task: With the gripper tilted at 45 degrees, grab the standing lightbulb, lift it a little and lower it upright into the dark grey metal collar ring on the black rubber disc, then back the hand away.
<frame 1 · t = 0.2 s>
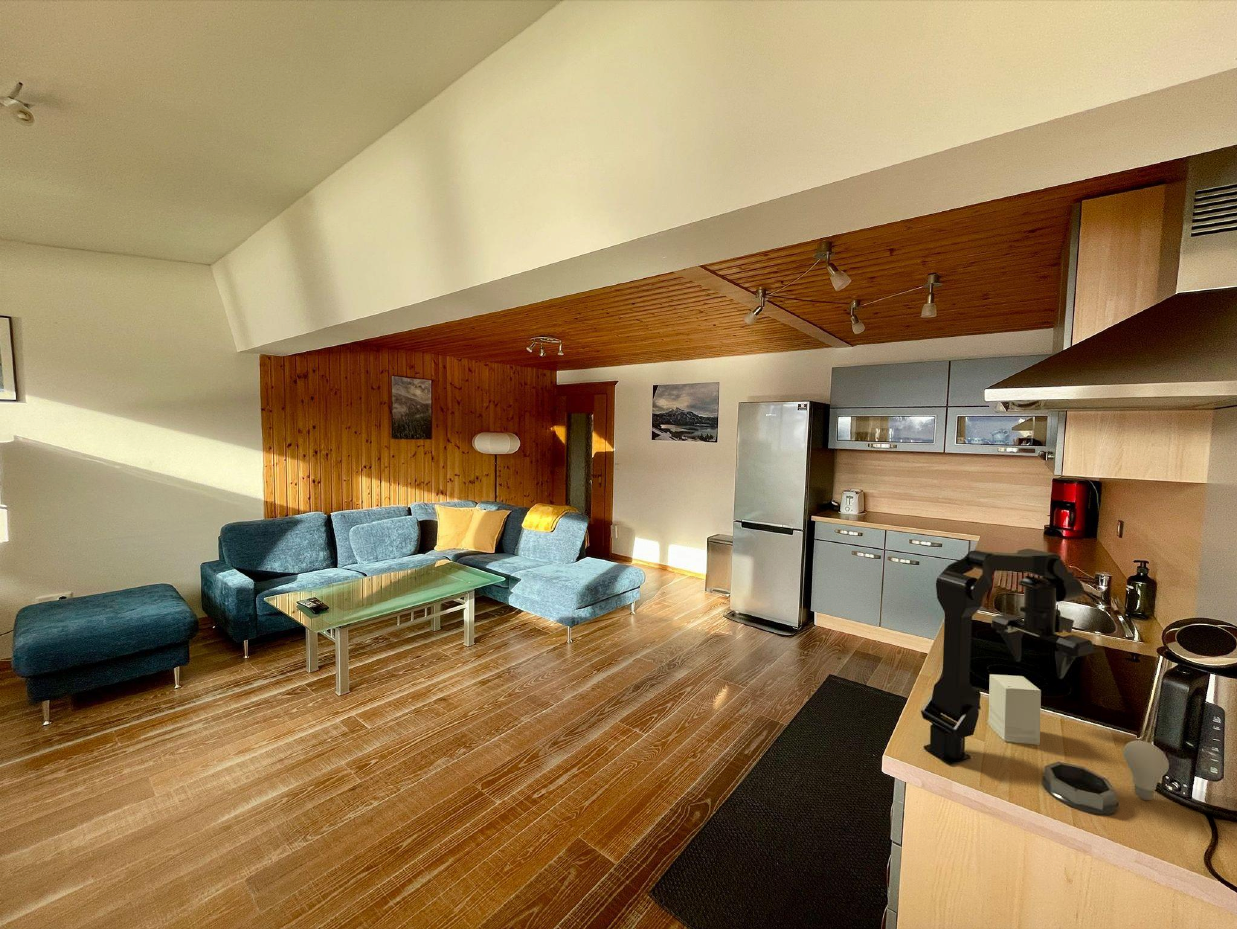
hand: (1038, 669, 120), 15 cm above the counter, tool pointing down, fingers open, 9 cm apart
collar: (1078, 794, 99), on the counter
lightbulb: (1143, 799, 98), on the counter
supplement box: (1013, 735, 119), on the counter
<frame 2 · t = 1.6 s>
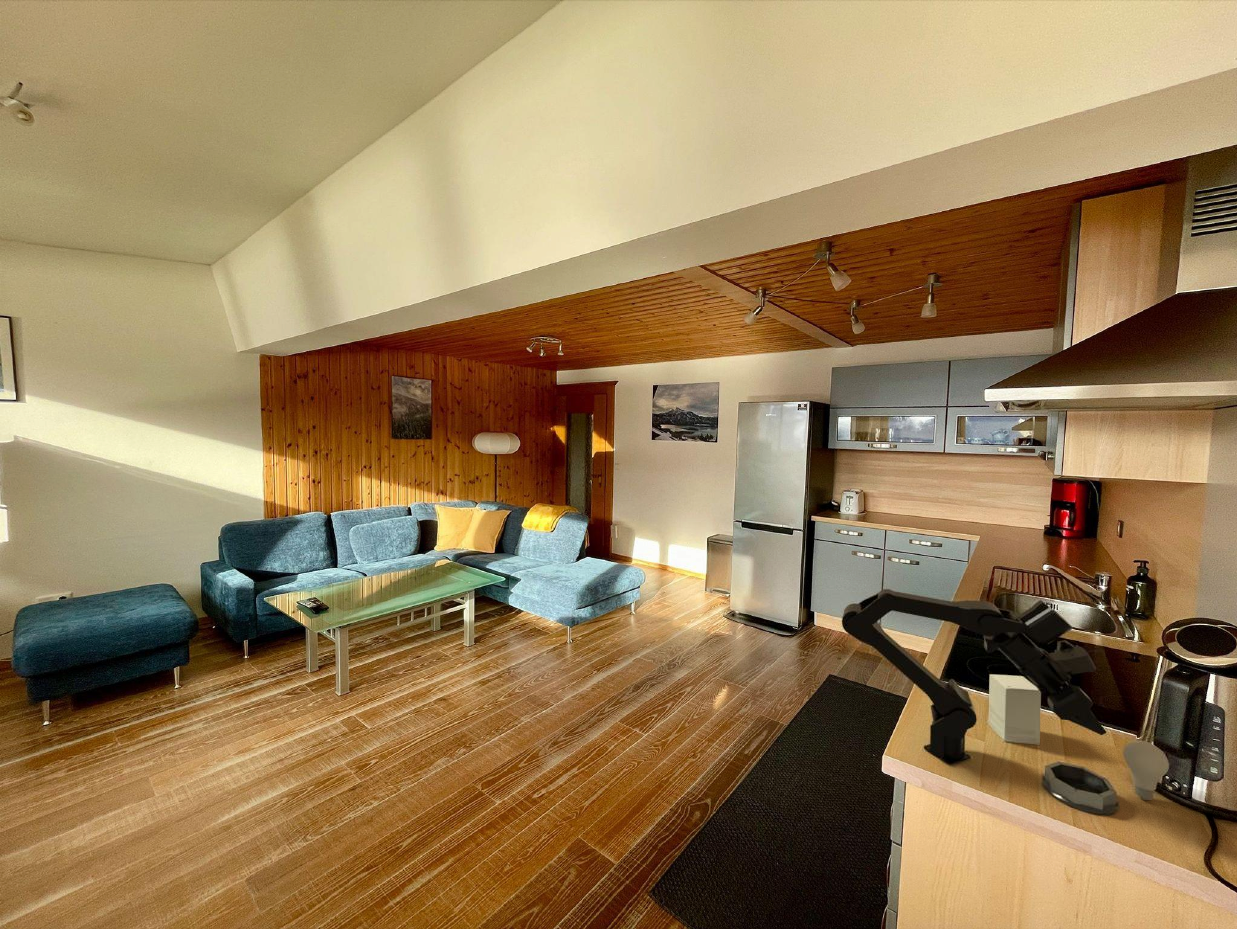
hand: (1094, 721, 101), 13 cm above the counter, tool tilted 45°, fingers open, 9 cm apart
nothing on the counter moved.
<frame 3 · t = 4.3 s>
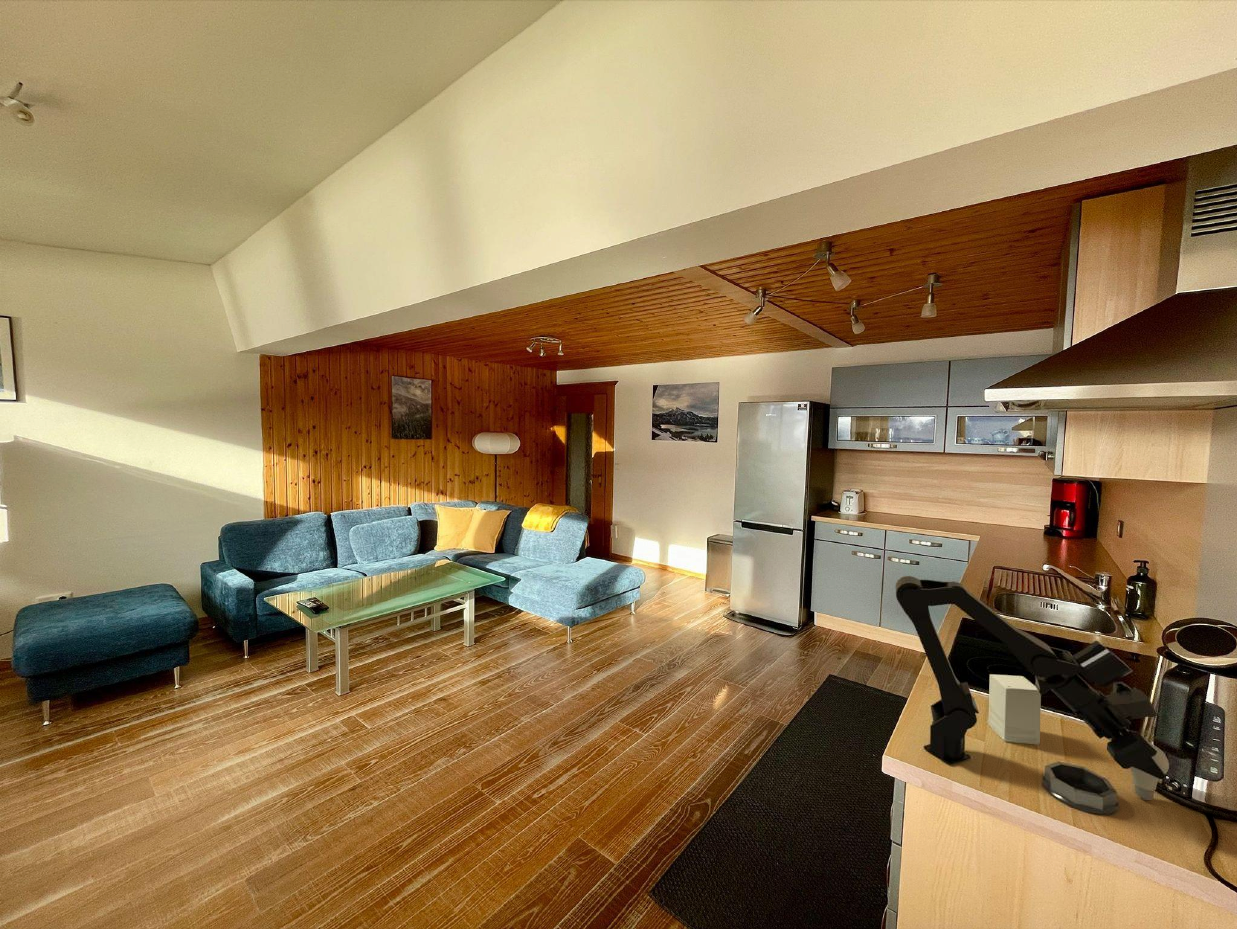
hand: (1155, 767, 97), 7 cm above the counter, tool tilted 45°, fingers closed on lightbulb, 6 cm apart
lightbulb: (1143, 799, 98), on the counter, touching gripper
everything else where it was.
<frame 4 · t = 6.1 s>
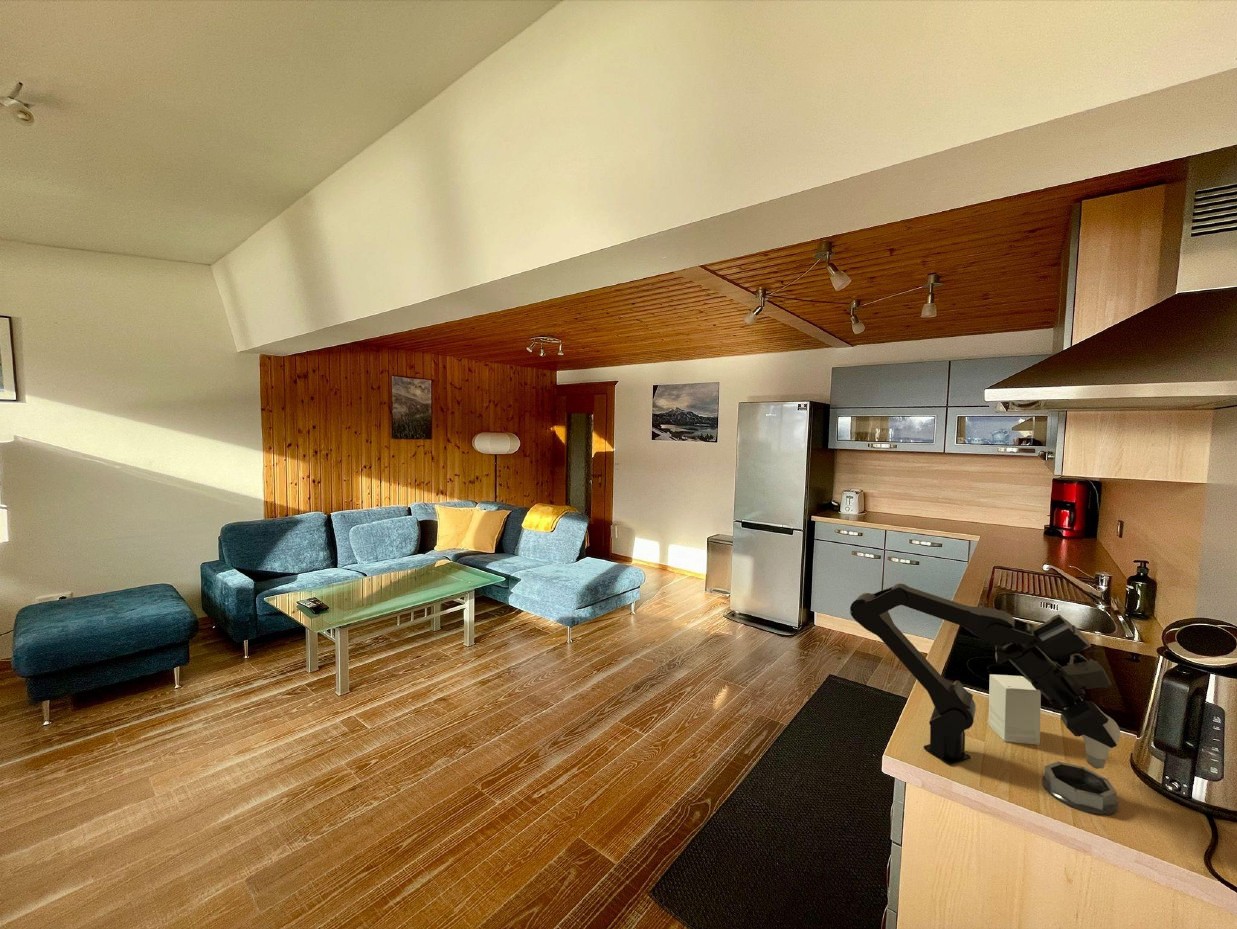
hand: (1107, 737, 98), 12 cm above the counter, tool tilted 45°, fingers closed on lightbulb, 6 cm apart
lightbulb: (1095, 768, 99), point 5 cm above the counter, touching gripper
everything else where it was.
when the fingers open (8 cm above the counter, at t = 7.9 s): lightbulb stays where it is, resting on collar.
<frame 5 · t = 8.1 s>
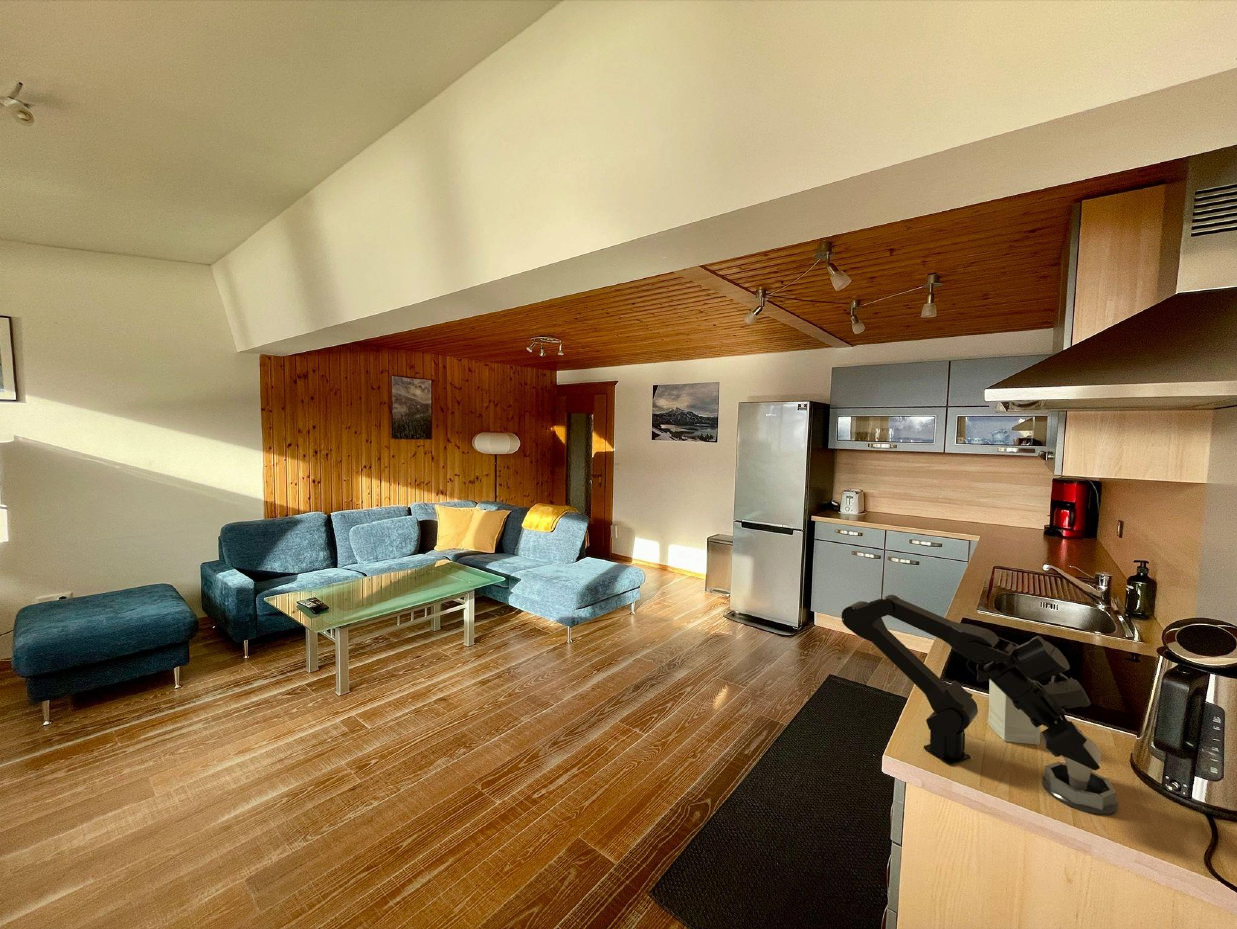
hand: (1089, 756, 98), 8 cm above the counter, tool tilted 45°, fingers open, 8 cm apart
lightbulb: (1077, 791, 100), resting on collar
everything else where it was.
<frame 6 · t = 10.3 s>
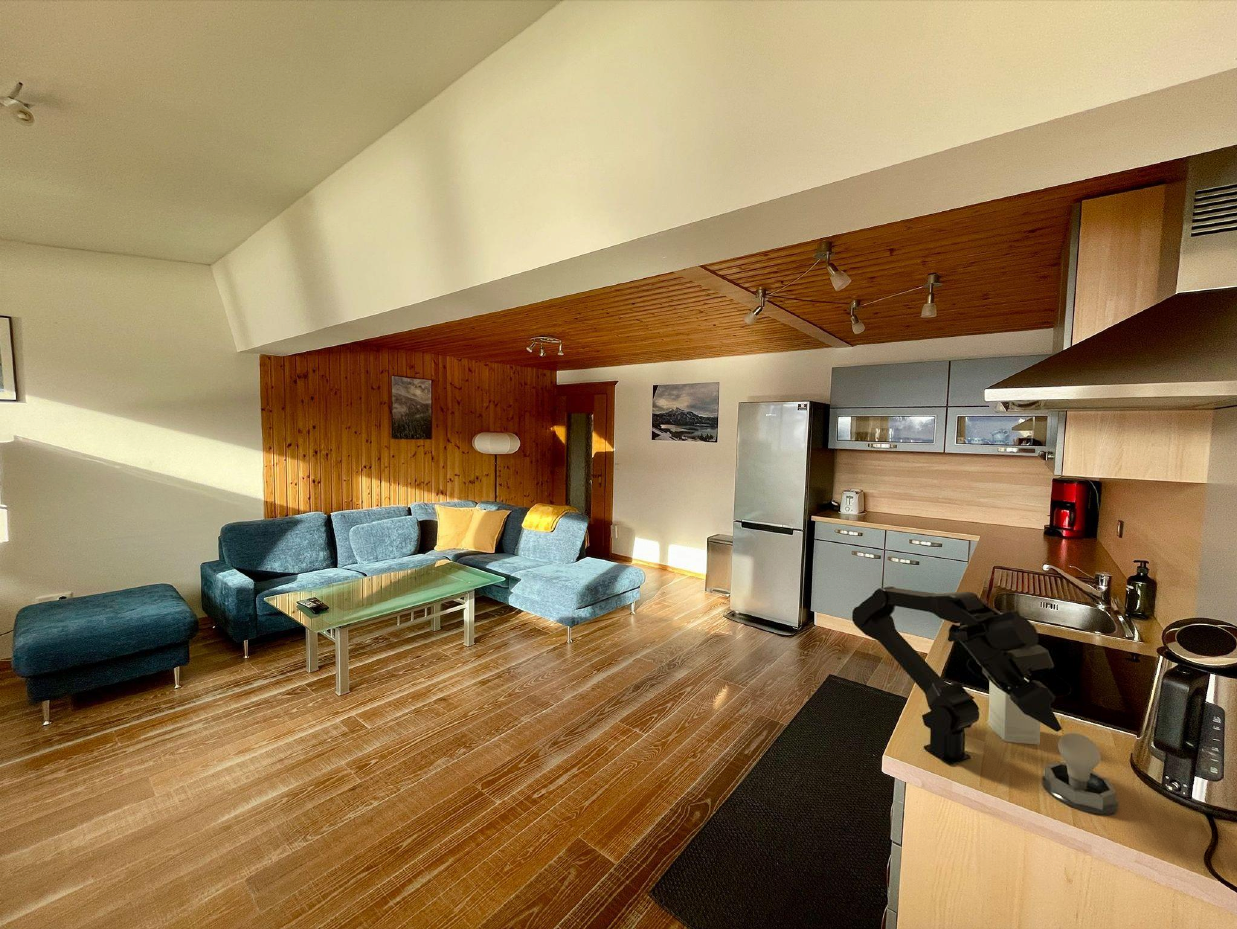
hand: (1047, 719, 102), 13 cm above the counter, tool tilted 40°, fingers open, 9 cm apart
nothing on the counter moved.
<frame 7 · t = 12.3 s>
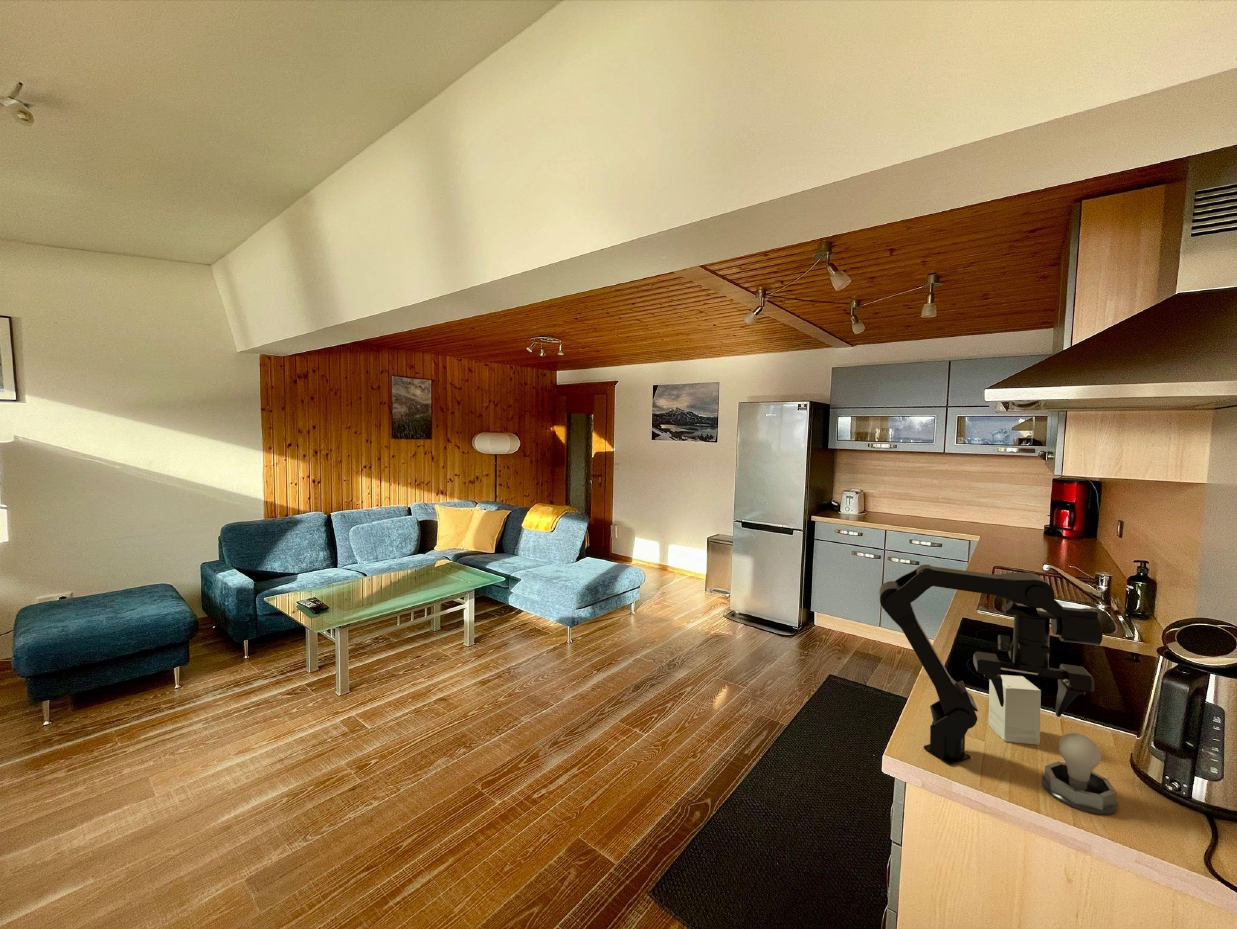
hand: (1029, 710, 106), 13 cm above the counter, tool pointing down, fingers open, 9 cm apart
nothing on the counter moved.
at the end: lightbulb 0.4 cm from the collar (horizontally); lightbulb tilted 0°; the gripper is holding nothing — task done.
